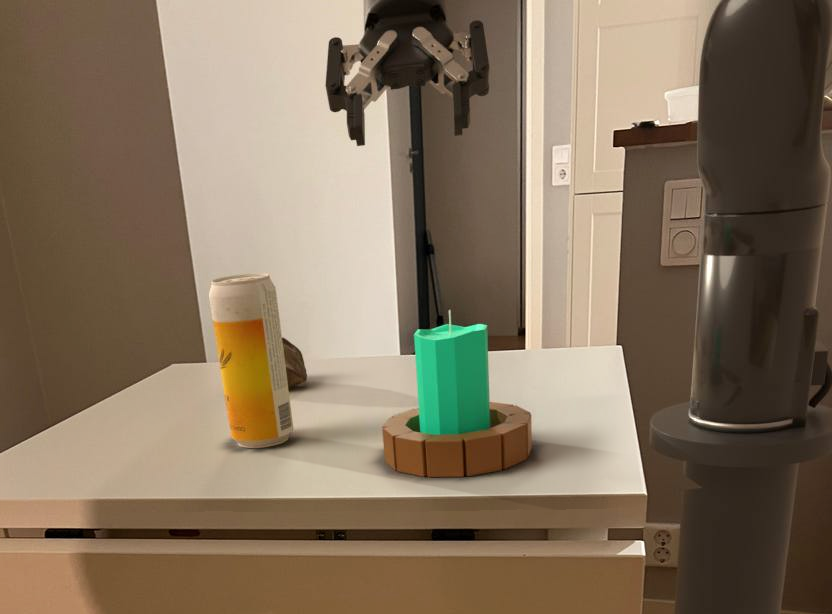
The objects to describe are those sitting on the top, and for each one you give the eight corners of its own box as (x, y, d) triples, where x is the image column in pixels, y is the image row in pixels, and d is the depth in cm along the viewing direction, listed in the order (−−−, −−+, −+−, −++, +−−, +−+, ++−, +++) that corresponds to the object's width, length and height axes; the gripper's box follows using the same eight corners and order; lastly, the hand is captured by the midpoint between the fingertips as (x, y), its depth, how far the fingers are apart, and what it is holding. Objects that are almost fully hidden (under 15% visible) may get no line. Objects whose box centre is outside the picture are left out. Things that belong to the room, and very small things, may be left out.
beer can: (249, 431, 96) (226, 274, 90) (304, 432, 94) (284, 271, 87) (221, 449, 91) (194, 284, 85) (278, 450, 89) (255, 281, 82)
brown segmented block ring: (536, 432, 86) (536, 399, 85) (522, 476, 76) (521, 439, 74) (403, 435, 90) (400, 403, 88) (371, 478, 79) (368, 442, 78)
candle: (505, 453, 82) (502, 307, 76) (448, 469, 79) (440, 319, 74) (463, 439, 86) (458, 301, 81) (408, 454, 84) (398, 313, 78)
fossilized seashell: (220, 365, 116) (245, 393, 108) (243, 314, 114) (269, 339, 106) (273, 387, 120) (300, 415, 113) (295, 338, 118) (325, 364, 110)
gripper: (321, -38, 84) (320, 106, 80) (483, -59, 83) (492, 87, 78) (333, 38, 92) (333, 174, 87) (482, 20, 90) (491, 158, 85)
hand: (408, 133), depth 82 cm, fingers open, 8 cm apart
